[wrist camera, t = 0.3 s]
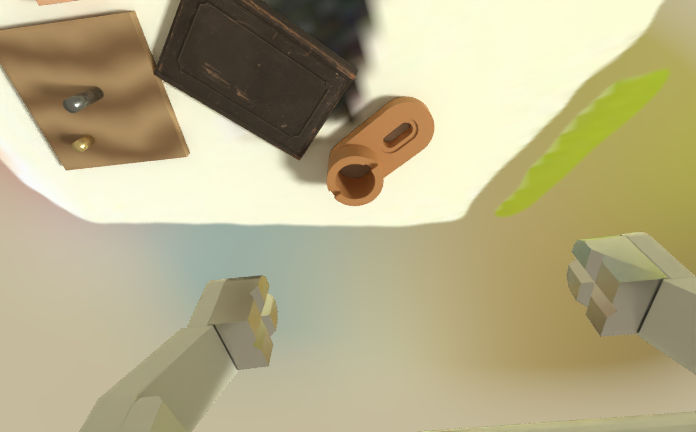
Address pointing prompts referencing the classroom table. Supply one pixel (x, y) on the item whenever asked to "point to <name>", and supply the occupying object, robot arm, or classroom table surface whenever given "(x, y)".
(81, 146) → the dowel
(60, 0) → the orange square-holed tool
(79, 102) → the post
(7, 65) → the board
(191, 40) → the hardcover book
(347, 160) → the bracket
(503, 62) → the classroom table surface
